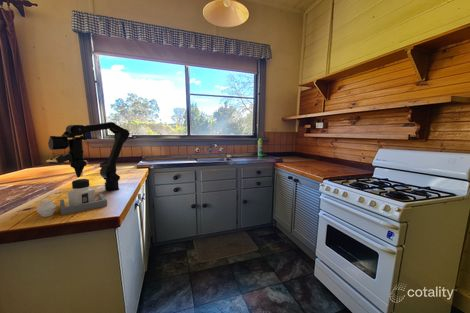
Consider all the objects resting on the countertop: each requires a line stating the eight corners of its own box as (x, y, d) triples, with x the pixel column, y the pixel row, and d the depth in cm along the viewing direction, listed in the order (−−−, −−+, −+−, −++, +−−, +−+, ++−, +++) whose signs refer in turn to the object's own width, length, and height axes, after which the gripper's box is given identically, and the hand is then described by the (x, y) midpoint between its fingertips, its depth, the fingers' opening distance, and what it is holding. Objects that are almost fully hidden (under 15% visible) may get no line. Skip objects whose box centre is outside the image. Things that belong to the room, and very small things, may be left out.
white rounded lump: (60, 212, 87) (59, 197, 86) (48, 218, 81) (46, 202, 80) (46, 212, 87) (44, 197, 86) (33, 218, 81) (30, 202, 80)
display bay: (102, 198, 105) (101, 193, 105) (107, 205, 96) (106, 199, 95) (60, 206, 94) (59, 200, 94) (61, 215, 84) (60, 208, 84)
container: (96, 203, 98) (94, 178, 96) (78, 209, 91) (76, 182, 89) (86, 201, 101) (84, 177, 99) (68, 206, 93) (66, 180, 92)
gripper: (55, 147, 105) (58, 176, 106) (55, 150, 91) (58, 183, 93) (81, 147, 112) (83, 173, 114) (85, 149, 98) (87, 179, 100)
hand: (78, 177), depth 105 cm, fingers closed
